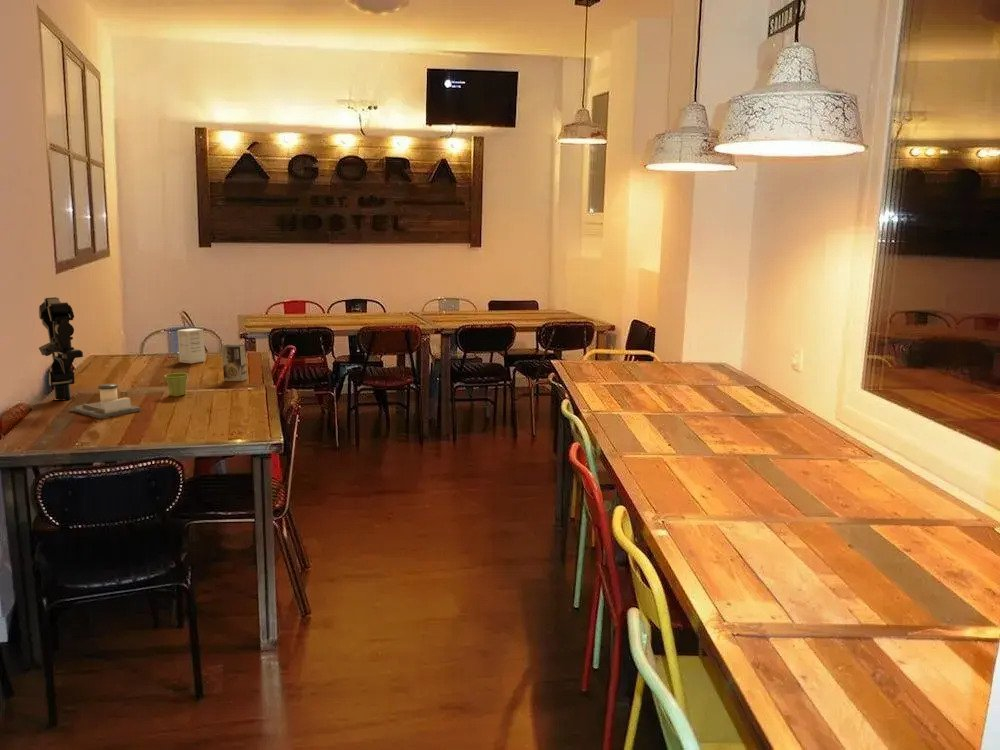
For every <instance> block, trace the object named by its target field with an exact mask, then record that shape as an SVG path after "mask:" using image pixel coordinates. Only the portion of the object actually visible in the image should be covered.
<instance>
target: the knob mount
mask: <svg viewBox="0 0 1000 750" xmlns="http://www.w3.org/2000/svg"><path fill="white" fill-rule="evenodd" d="M71 410H73V411H76V412H75V413H77V412H79V413H78V414H80V413H82V414H81V415H84V414H85V415H84V416H87V415H89V416H88V417H90V416H92V417H91V418H94V417H96V418H95V419H97V418H99V419H98V420H101V419H100V418H103V419H106V418H105V417H108V418H111V417H110V416H113V417H116V416H115V415H119V416H122V415H121V414H124V415H127V414H126V413H129V414H132V413H131V412H134V413H138V412H137V411H139V412H141V407H140V406H136V405H133V404H131V398H130V397H121V398H118V399H114V400H108V401H102V402H101V401H98V402H92V403H91V402H90V403H81V405H80V404H79V405H74V406H70V411H71ZM73 411H72V412H73Z"/></svg>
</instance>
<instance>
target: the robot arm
mask: <svg viewBox="0 0 1000 750" xmlns="http://www.w3.org/2000/svg"><path fill="white" fill-rule="evenodd" d="M38 317H39V320H41V325H43V326H44V328H45V329H46V330H47V334H48V339H49V340H48V341H49V342H48V343H46V344H43V345H41V346H39V347H38V350H39V351H40V353H41V355H42V356H45V357H48V356H51V358H52V364H51V365H50V368H49V372H48V385H49V386H50V387H53V389H54V390H53V391H54V398H56V399H70V398H71V399H73V398H74V395H71V389H70V388H71V387H70V386H71V385H74V384H75V382H76V381H75V375H76V374H75V371H73V369H71V367H72V365H73V363H74V361H75V359H78V358H83V357H84V352H83V351H82V350H81V349H77V348H76V349H75V348H74V347H73V346H72V340H74V337H73V334H74V332H75V329H74V327H73V326H74V325H72V324H71V323H70V321H74V318H75V314H74V311H73V307H72V306H71V304H69V303H68V301H67V302H65V301H64V302H61V301H60V298H59V297H45V298H44V301H43V302H42V303H41V304H39V307H38ZM72 397H73V398H72ZM71 399H70V400H71Z"/></svg>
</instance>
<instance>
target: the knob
mask: <svg viewBox="0 0 1000 750" xmlns="http://www.w3.org/2000/svg"><path fill="white" fill-rule="evenodd" d="M118 387H119V385H118V384H117V383H104V384H103V383H102V384H99V385H98V386H97V389H98V390H99V397H100V402H102V401H108V400H114V399H119V398H118Z"/></svg>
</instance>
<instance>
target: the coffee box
mask: <svg viewBox="0 0 1000 750" xmlns="http://www.w3.org/2000/svg"><path fill="white" fill-rule="evenodd" d="M220 348H221V355H222V356H221V357H222V369H223V370H222V371H223V381H224V382H244V381H246V380H248V369H247V368H248V366H247V353H246V352H247V351H246V344H225V345H223V346H221V347H220Z"/></svg>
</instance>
